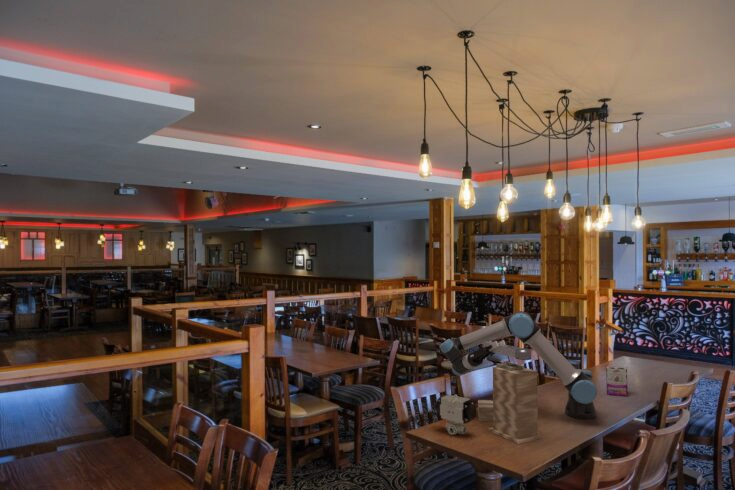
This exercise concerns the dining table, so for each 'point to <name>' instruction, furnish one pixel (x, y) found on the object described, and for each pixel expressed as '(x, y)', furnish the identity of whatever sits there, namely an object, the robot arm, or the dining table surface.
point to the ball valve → (456, 412)
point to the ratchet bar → (511, 351)
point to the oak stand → (515, 403)
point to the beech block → (485, 410)
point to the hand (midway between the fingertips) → (500, 343)
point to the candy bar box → (616, 381)
